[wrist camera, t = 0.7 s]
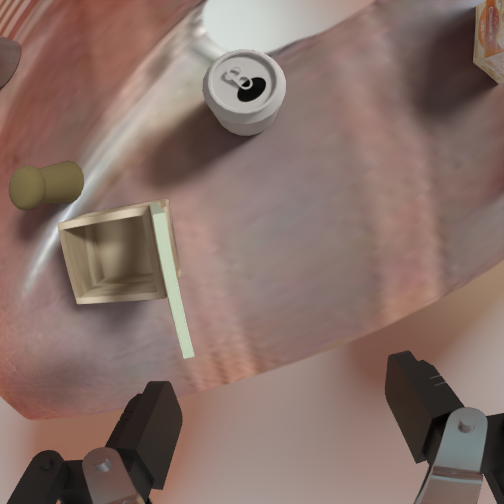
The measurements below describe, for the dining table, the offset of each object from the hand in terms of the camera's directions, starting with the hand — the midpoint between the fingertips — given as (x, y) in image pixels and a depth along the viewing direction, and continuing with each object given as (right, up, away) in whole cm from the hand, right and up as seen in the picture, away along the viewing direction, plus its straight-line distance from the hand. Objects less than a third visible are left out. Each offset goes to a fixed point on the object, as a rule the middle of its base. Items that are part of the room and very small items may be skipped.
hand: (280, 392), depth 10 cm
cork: (-27, +15, +26) cm, 41 cm away
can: (-2, +23, +24) cm, 33 cm away
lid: (-9, +3, +15) cm, 18 cm away
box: (-17, +6, +28) cm, 34 cm away
